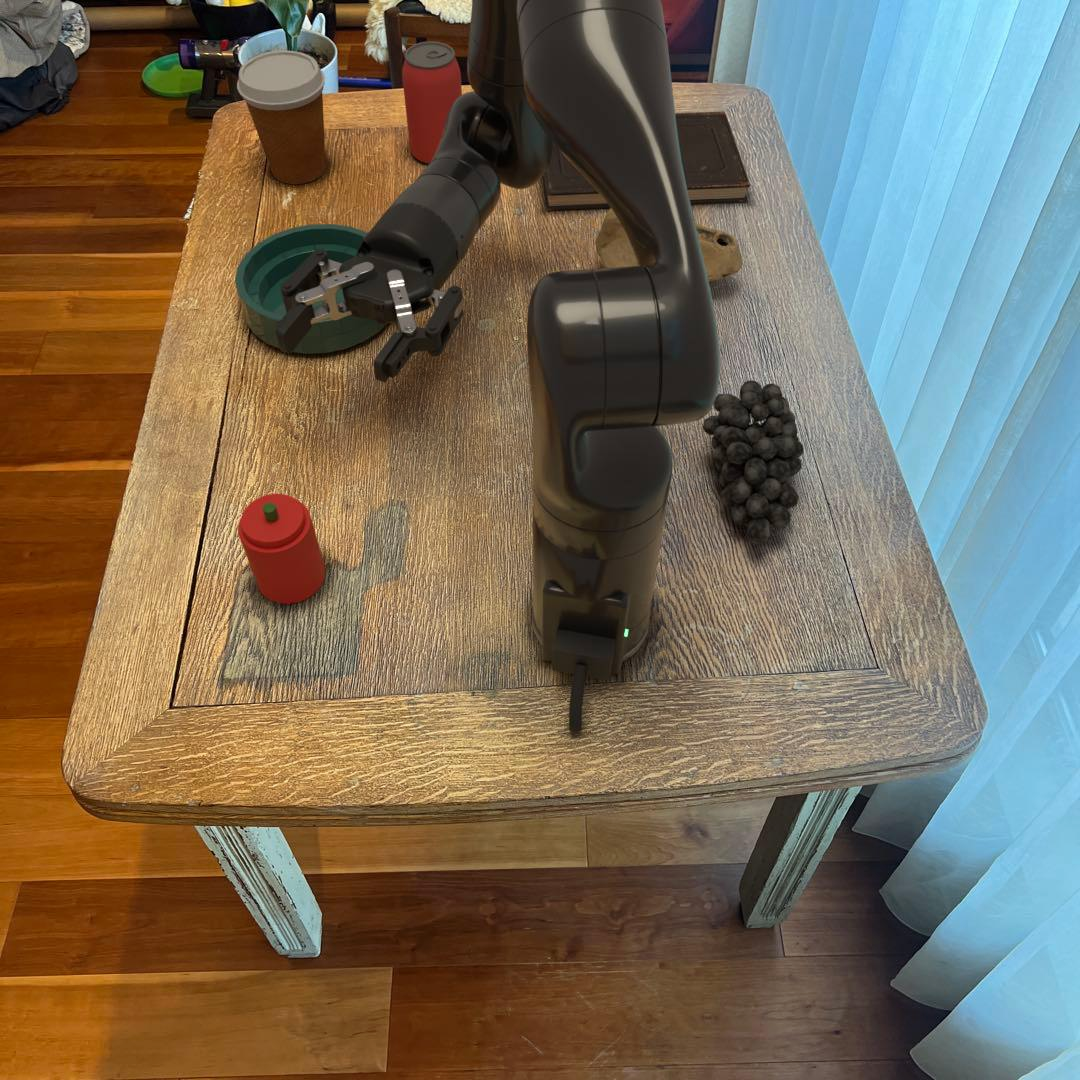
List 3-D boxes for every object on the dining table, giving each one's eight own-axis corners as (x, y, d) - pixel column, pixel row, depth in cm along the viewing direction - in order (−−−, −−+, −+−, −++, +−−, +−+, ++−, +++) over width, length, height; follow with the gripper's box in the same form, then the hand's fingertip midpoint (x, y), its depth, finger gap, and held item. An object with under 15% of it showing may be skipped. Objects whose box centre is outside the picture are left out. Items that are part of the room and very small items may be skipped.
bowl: (371, 368, 100) (365, 333, 96) (221, 345, 102) (210, 310, 98) (416, 270, 109) (412, 234, 105) (278, 250, 111) (269, 215, 107)
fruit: (801, 494, 78) (792, 357, 87) (694, 508, 81) (696, 373, 89) (814, 559, 85) (805, 425, 93) (715, 569, 87) (714, 438, 96)
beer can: (472, 160, 122) (467, 61, 112) (420, 172, 120) (410, 73, 111) (455, 132, 125) (448, 34, 116) (403, 143, 124) (392, 44, 114)
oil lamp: (742, 312, 105) (756, 247, 99) (597, 313, 105) (601, 248, 98) (728, 246, 112) (740, 181, 105) (591, 247, 111) (595, 182, 105)
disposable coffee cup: (327, 196, 117) (308, 96, 108) (247, 188, 118) (221, 89, 108) (349, 150, 123) (333, 51, 113) (273, 143, 124) (251, 45, 114)
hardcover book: (747, 202, 117) (750, 184, 115) (546, 211, 115) (546, 193, 114) (721, 126, 126) (724, 108, 124) (536, 133, 125) (536, 116, 123)
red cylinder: (312, 609, 83) (290, 542, 75) (246, 597, 83) (219, 529, 76) (334, 555, 86) (316, 485, 79) (272, 544, 87) (248, 474, 79)
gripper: (342, 182, 87) (240, 298, 78) (495, 221, 84) (407, 346, 75) (355, 255, 93) (261, 370, 84) (498, 293, 90) (416, 417, 81)
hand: (330, 358), depth 79 cm, fingers open, 8 cm apart
